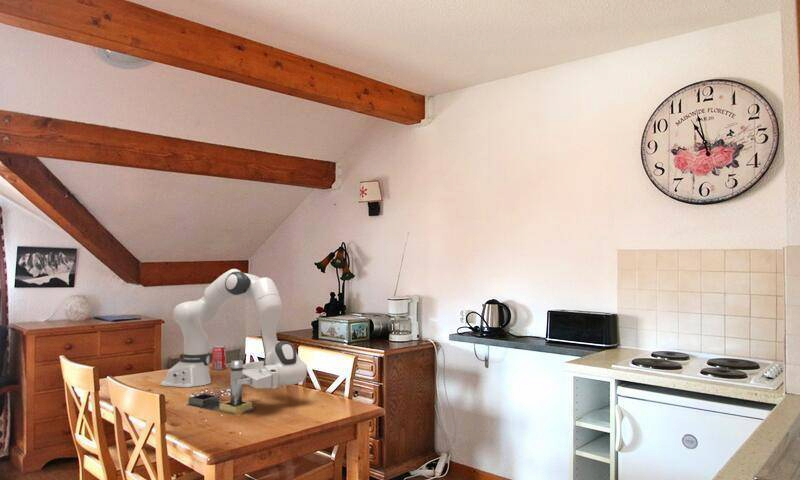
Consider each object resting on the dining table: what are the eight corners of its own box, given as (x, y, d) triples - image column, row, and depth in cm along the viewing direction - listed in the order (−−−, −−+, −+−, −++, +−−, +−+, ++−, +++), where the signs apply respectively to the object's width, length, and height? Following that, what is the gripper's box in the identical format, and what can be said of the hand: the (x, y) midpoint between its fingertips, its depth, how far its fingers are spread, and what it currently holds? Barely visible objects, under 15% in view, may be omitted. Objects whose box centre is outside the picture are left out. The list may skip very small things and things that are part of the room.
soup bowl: (290, 383, 270) (290, 369, 270) (238, 384, 266) (238, 370, 266) (292, 373, 294) (292, 360, 294) (244, 374, 290) (244, 361, 290)
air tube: (229, 404, 217) (229, 362, 218) (231, 401, 222) (231, 360, 222) (241, 404, 218) (242, 362, 218) (243, 401, 222) (243, 360, 223)
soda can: (221, 367, 307) (222, 344, 307) (228, 369, 302) (228, 346, 302) (209, 368, 302) (210, 346, 302) (215, 370, 297) (216, 347, 297)
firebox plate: (185, 407, 226) (185, 398, 226) (207, 401, 236) (207, 392, 236) (232, 417, 213) (232, 407, 213) (254, 410, 222) (254, 401, 222)
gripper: (259, 364, 236) (226, 367, 228) (278, 372, 219) (243, 376, 211) (259, 379, 236) (225, 383, 228) (278, 389, 219) (243, 394, 211)
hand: (234, 380), depth 220 cm, fingers closed on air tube, 4 cm apart
